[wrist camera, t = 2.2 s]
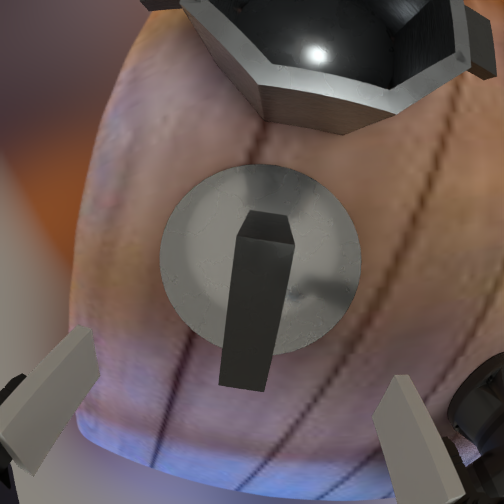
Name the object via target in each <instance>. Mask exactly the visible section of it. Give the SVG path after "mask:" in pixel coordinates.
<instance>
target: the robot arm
mask: <svg viewBox="0 0 504 504" xmlns="http://www.w3.org/2000/svg"><path fill="white" fill-rule="evenodd" d="M99 377H100V372H99V367H98V362H97V357H96V352H95V346H94V340H93V334H92V329H90V328H87V327H84V326H80V325H77V326H76V327H75V328H74V329H73V330H72V331H71V332H70V333H69V334H68V335H67V336H66V337H65V338H64V339H63V340H62V341H61V342H60V343H59V344H58V345H57V346H56V347H55V348H54V349H53V350H52V351H51V352H50V353H49V354H48V355H47V356H46V357H45V358H44V359H43V360H42V361H41V362H40V363H39V364H38V365H37V366H36V368H35V369H34V370H33V371H32V372H31V373H30V374H29V375H28V376H26V375H24V374H20V375H18V376H16V377H14V378H13V379H11V380H10V381H9V382H8V384H7V385H6V386H5V388H3V389H2V390H1V391H0V504H19V500H18V495H17V491H16V486H15V481H14V476H13V471H12V467H11V464H10V462H11V461H12V459H13V460H14V462H15V463H16V464H17V465H18V467H20V468H21V469H23V470H24V471H26V472H28V473H29V474H30V475H32V476H34V475H35V474H36V472H37V470H38V469H39V467H40V465H41V464H42V462H43V460H44V459H45V457H46V456H47V454H48V452H49V451H50V449H51V448H52V446H53V445H54V443H55V442H56V440H57V438H58V437H59V435H60V434H61V432H62V431H63V429H64V428H65V426H66V424H67V423H68V421H69V420H70V419H71V417H72V416H73V414H74V413H75V411H76V410H77V408H78V407H79V405H80V404H81V403H82V401H83V400H84V398H85V397H86V395H87V394H88V392H89V391H90V389H91V388H92V387H93V385H94V384H95V382H96V381H97V380H98V378H99ZM372 419H373V422H374V425H375V428H376V431H377V434H378V438H379V441H380V444H381V447H382V451H383V454H384V457H385V461H386V464H387V468H388V471H389V475H390V478H391V482H392V485H393V489H394V493H395V496H396V500H397V504H504V353H501V354H498V355H496V356H494V357H493V358H491V359H489V360H488V361H487V362H485V363H484V364H483V365H481V366H480V367H479V368H478V369H477V370H476V371H475V372H474V373H473V374H471V376H470V377H469V378H468V379H467V380H466V381H465V382H464V383H463V385H462V386H461V387H460V388H459V390H458V391H457V393H456V394H455V396H454V397H453V399H452V401H451V403H450V406H449V409H448V419H449V421H450V423H451V424H452V426H453V428H454V429H455V430H456V431H457V432H459V433H460V434H461V435H463V436H464V437H465V438H467V439H468V440H469V441H471V442H472V443H473V444H474V445H475V446H476V447H477V449H478V451H479V453H480V454H481V457H479V458H478V459H477V460H475V461H474V462H472V463H471V464H469V465H468V466H466V467H465V465H464V463H462V462H463V461H462V459H461V457H460V456H459V452H458V450H457V448H456V446H455V444H454V443H453V442H452V441H451V440H450V439H449V438H448V437H443V438H441V437H440V435H439V433H438V431H437V428H436V426H435V424H434V422H433V420H432V418H431V416H430V414H429V412H428V410H427V409H426V407H425V405H424V403H423V401H422V399H421V397H420V395H419V393H418V391H417V389H416V388H415V386H414V384H413V382H412V380H411V378H410V377H409V375H394V377H393V379H392V381H391V383H390V385H389V386H388V388H387V390H386V392H385V394H384V396H383V398H382V400H381V401H380V403H379V405H378V407H377V409H376V410H375V412H374V414H373V415H372Z"/></svg>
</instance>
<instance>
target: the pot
mask: <svg viewBox="0 0 504 504" xmlns="http://www.w3.org/2000/svg"><path fill="white" fill-rule="evenodd" d="M140 2H141V3H142V4H143V5H144V6H145V7H146V8H147V9H148V11H156V10H167V9H180V8H183V10H184V12H185V13H186V15H187V16H188V18H189V19H190V21H191V23H192V24H193V26H194V27H195V29H196V31H197V32H198V34H199V36H200V37H201V39H202V41H203V42H204V44H205V46H206V47H207V49H208V51H209V52H210V54H211V56H212V57H213V59H214V61H215V62H216V64H217V66H218V67H219V68H220V69H221V70H222V71H223V72H224V73H225V75H226V76H227V77H228V78H229V79H230V80H231V81H232V83H233V84H234V85H235V86H236V87H237V88H238V90H239V91H240V92H241V93H242V94H243V95H244V97H245V98H246V99H247V100H248V101H249V103H250V104H251V105H252V106H253V107H254V109H255V110H256V111H257V112H258V114H259V115H260V116H261V117H262V119H263V120H264V121H267V122H274V123H280V124H287V125H293V126H299V127H304V128H310V129H315V130H320V131H325V132H330V133H334V134H339V135H345V134H348V133H350V132H353V131H355V130H358V129H360V128H363V127H365V126H368V125H371V124H373V123H376V122H378V121H381V120H384V119H386V118H389V117H392V116H394V115H397V114H398V113H400V112H401V111H403V110H404V109H406V108H407V107H409V106H410V105H412V104H413V103H415V102H417V101H418V100H420V99H421V98H423V97H424V96H426V95H428V94H429V93H431V92H432V91H434V90H435V89H437V88H439V87H440V86H442V85H443V84H445V83H447V82H448V81H450V80H451V79H453V78H455V77H456V76H458V75H460V74H461V73H463V72H464V71H468V72H470V73H472V74H474V75H476V76H477V77H479V78H481V79H482V80H486V79H490V78H493V77H497V71H496V60H495V51H494V43H493V36H492V30H491V24H490V20H488V19H487V18H485V17H483V16H482V15H480V14H479V13H477V12H476V11H474V10H472V9H471V8H469V7H467V6H465V5H464V2H463V0H140ZM386 88H387V89H386Z"/></svg>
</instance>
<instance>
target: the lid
mask: <svg viewBox="0 0 504 504" xmlns="http://www.w3.org/2000/svg"><path fill="white" fill-rule="evenodd" d="M160 271H161V277H162V281H163V285H164V288H165V291H166V293H167V296H168V298H169V300H170V302H171V304H172V306H173V307H174V309H175V311H176V312H177V313H178V315H179V316H180V317H181V318H182V320H183V321H184V322H185V323H186V324H187V325H188V326H189V327H190V328H191V329H192V330H193V331H194V332H196V333H197V334H198V335H199V336H201V337H202V338H204V339H205V340H207V341H209V342H210V343H212V344H214V345H216V346H218V347H221V348H222V357H221V366H220V375H219V384H218V385H221V386H227V387H233V388H239V389H246V390H253V391H260V392H264V390H265V386H266V382H267V377H268V373H269V369H270V365H271V360H272V356H273V355H279V354H284V353H288V352H292V351H295V350H298V349H300V348H303V347H305V346H307V345H309V344H311V343H313V342H315V341H316V340H318V339H319V338H321V337H322V336H324V335H325V334H326V333H327V332H328V331H330V330H331V329H332V328H333V327H334V326H335V325H336V324H337V323H338V322H339V320H340V319H341V318H342V317H343V315H344V314H345V312H346V311H347V309H348V308H349V306H350V304H351V302H352V300H353V298H354V296H355V293H356V290H357V287H358V283H359V279H360V274H361V249H360V244H359V239H358V235H357V232H356V230H355V227H354V224H353V222H352V220H351V218H350V216H349V215H348V213H347V211H346V210H345V208H344V207H343V206H342V204H341V203H340V202H339V200H338V199H337V198H336V197H335V196H334V195H333V194H332V193H331V192H330V191H329V190H328V189H326V188H325V187H324V186H322V185H321V184H320V183H318V182H317V181H316V180H314V179H312V178H310V177H308V176H306V175H305V174H302V173H300V172H297V171H295V170H292V169H289V168H284V167H280V166H276V165H264V164H256V165H244V166H239V167H233V168H230V169H227V170H224V171H221V172H218V173H216V174H214V175H212V176H210V177H208V178H207V179H205V180H203V181H202V182H201V183H199V184H198V185H196V186H195V187H194V188H193V189H192V190H190V191H189V192H188V193H187V194H186V195H185V196H184V197H183V199H182V200H181V201H180V202H179V204H178V205H177V206H176V207H175V209H174V211H173V212H172V214H171V216H170V218H169V220H168V222H167V225H166V227H165V229H164V233H163V237H162V241H161V247H160Z"/></svg>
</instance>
